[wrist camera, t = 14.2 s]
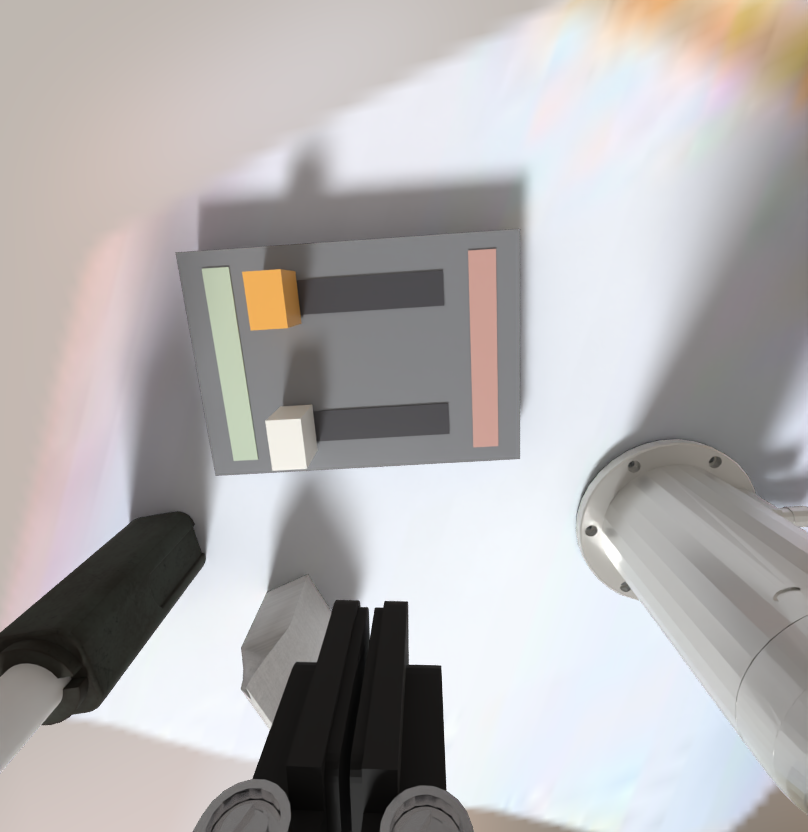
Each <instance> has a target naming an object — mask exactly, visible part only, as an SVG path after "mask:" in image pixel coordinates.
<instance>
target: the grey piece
mask: <svg viewBox="0 0 808 832" xmlns="http://www.w3.org/2000/svg"><path fill="white" fill-rule="evenodd" d="M331 613H332V612H331V610H330V609H329V607H328V605H327V604H326V602H325V601H324V599H323V597H322V596H321V594H320V593H319V591H318V589H317V588H316V586H315V585H314V583H313V581H312V580H311V578H310V577H309V575H308V574H307V575H305V576H302V577H300V578H298V579H296V580H293V581H291V582H289V583H287V584H284V585H282V586H280V587H278V588H275V589H273V590H271V591H269V592H267V593H266V595H265V597H264V600H263V602H262V604H261V606H260V608H259V610H258V613H257V615H256V617H255V619H254V621H253V623H252V625H251V628H250V630H249V632H248V634H247V636H246V638H245V640H244V643H243V645H242V647H241V651H242V660H243V682H242V686H241V690H242V692H243V693H244V695H245V696H246V697H247V699H248V700H249V702H250V703H251V704H252V706H253V707H254V709H255V710H256V711H257V713H258V714H259V716H260V717H261V718H262V720H263V721H264V722H265V724H266V725H267V727H268V728H269V729H271V726H272V723H273V720H274V717H275V715H276V712H277V709H278V706H279V703H280V701H281V698H282V695H283V692H284V690H285V687H286V684H287V681H288V678H289V676H290V673H291V670H292V668H293V666H294V664H295V663H296V662H317V660H318V657H319V653H320V650H321V646H322V643H323V640H324V636H325V633H326V630H327V626H328V623H329V619H330V616H331Z"/></svg>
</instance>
